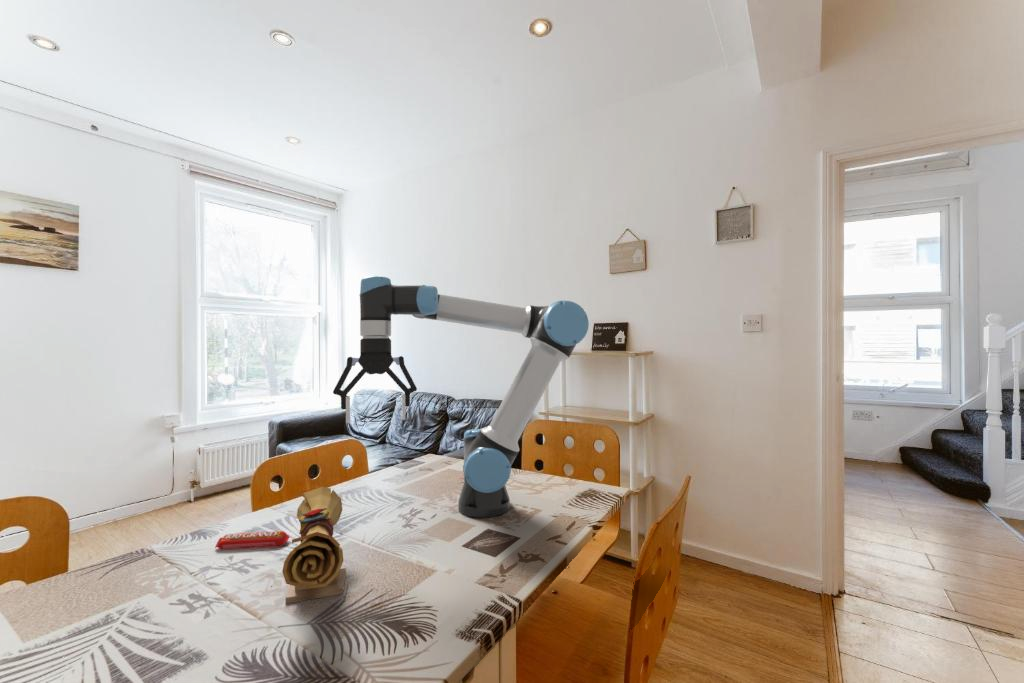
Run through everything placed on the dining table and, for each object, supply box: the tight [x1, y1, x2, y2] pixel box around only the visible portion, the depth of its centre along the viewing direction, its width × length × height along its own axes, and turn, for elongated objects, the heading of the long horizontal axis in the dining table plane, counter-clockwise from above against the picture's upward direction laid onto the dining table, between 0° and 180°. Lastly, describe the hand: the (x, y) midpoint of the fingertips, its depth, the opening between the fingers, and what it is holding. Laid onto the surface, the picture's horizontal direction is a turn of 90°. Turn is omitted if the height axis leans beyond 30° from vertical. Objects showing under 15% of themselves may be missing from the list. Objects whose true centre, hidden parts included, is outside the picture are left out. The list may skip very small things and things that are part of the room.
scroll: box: [281, 486, 344, 589], centre depth 86 cm, size 27×10×10 cm, turn 22°
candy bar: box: [214, 530, 290, 551], centre depth 103 cm, size 16×4×3 cm, turn 97°
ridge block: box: [285, 541, 347, 604], centre depth 86 cm, size 10×8×8 cm
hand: (376, 420), depth 110 cm, fingers open, 13 cm apart
